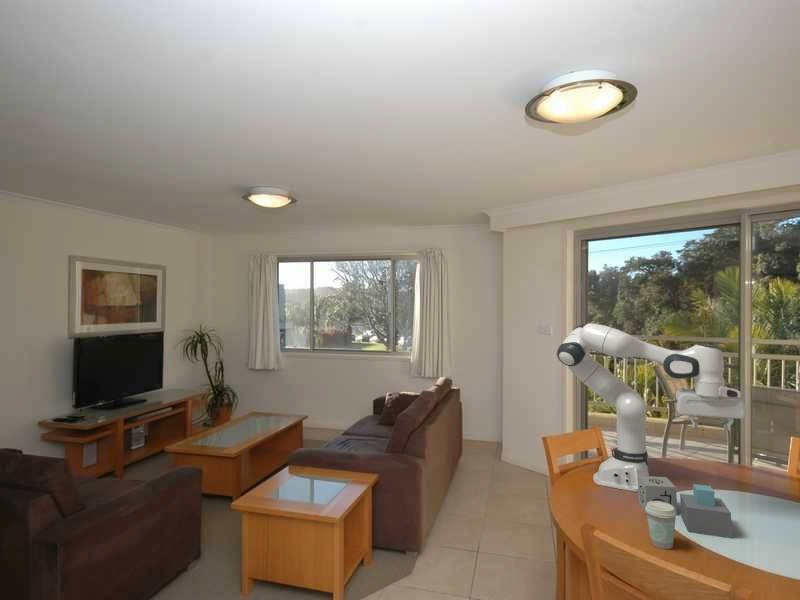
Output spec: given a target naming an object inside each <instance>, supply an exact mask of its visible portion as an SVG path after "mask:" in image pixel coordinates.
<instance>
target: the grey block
mask: <svg viewBox="0 0 800 600" xmlns="http://www.w3.org/2000/svg"><path fill="white" fill-rule="evenodd" d="M679 496H680V499H679V500H680V517H681V521H682V522H683V524H684V527H685V528H686V531H687V532H688V533H692V534H699V535H705V536H706V535H707V536H713V537H719V538H720V537H721V538H726V539H727V538H728V539H733V528H732V512H731V511H730V510H729V508H728V506H727V505H726V504H725V502H724V501H723V500H722V498H720V497H714V498H715V507H712V506H703V505H697V504H696V502H695V500H694V494H687V493H679Z"/></svg>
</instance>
